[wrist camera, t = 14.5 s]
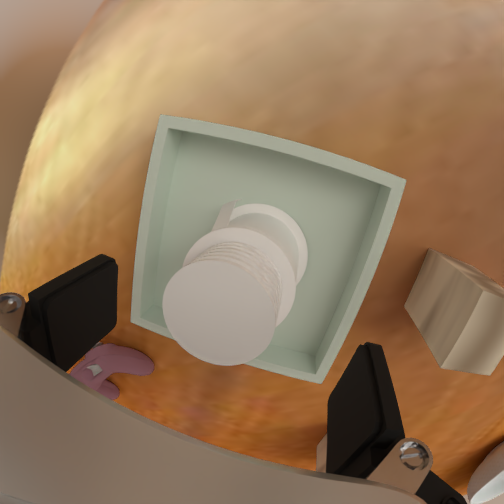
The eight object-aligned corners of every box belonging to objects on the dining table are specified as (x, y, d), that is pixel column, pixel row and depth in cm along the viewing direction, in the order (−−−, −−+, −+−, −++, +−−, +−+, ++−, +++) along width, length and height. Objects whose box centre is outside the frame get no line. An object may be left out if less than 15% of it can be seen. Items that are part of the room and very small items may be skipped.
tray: (391, 177, 18) (406, 180, 15) (320, 360, 23) (321, 384, 20) (178, 120, 19) (160, 114, 16) (147, 305, 24) (130, 322, 21)
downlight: (320, 291, 20) (328, 380, 11) (231, 313, 22) (182, 399, 13) (287, 182, 19) (270, 186, 9) (194, 214, 21) (110, 246, 11)
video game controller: (140, 329, 27) (82, 337, 21) (161, 368, 26) (104, 386, 19) (103, 365, 30) (55, 375, 24) (119, 398, 29) (72, 413, 22)
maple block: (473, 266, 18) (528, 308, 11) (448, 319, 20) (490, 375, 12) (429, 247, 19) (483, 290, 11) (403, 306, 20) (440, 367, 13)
